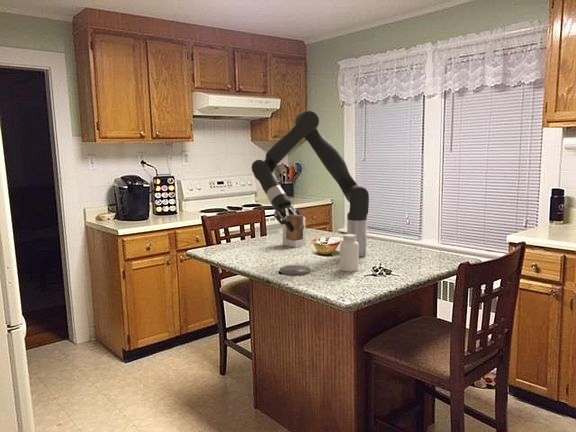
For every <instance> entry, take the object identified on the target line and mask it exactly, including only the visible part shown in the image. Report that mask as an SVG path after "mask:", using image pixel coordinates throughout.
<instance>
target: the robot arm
mask: <svg viewBox="0 0 576 432" xmlns="http://www.w3.org/2000/svg"><path fill="white" fill-rule="evenodd" d="M294 124H295V126H293V128H292V129H290V131H289V132H287V134H285V135H283V137H282V138H280V139H279V140H278V141H277V142H276V143H274V145H273V146H272V147H271V148H270V149H269V150H267V152H266V154H265V159H264V160H262V159H256V160H254V161H253V162H252V164H251V171H252V173H253V175H254V178H255V179H256V180H257V181H259V183H260V185H261V188H262V190H263V192H264V194H265V195H266V197H267V198H268V201H269V203H270V204H271V206H272V208H273V209H274V213H273V214H272V215H273V217H274V218H275V219H276V220H277V222H278V223H279V224H280V225H281V226H283V224H284V225H286V226H287V228H288V229H289V231H290V232H293V231H294V227H293V226H292V224H291V222H290V221H289V219H288V216H289V215H293V214H294V215H296V214H297V215H303V214H302V211H301V209H300V207H297V208H294V207H293V206H292V202H291V200H290V198H289V196H288V195H287V194H286V192H285V191H284V188H282V186H281V185H280V184H279V182H278V181H277V180H276V179H277V178H275V176H274V175H273V173H274V171H275V170H276V168H277V166H278V165H279V163H280V162H281V161H282V160H284V158H285V157H286V156H287V155H288V154H290V152H291V150H292V149H294V147H295V146H297V144H298V143H300V142H301V140H303V139H305V141H307V143H308V144H309V145H310V147H311V148H312V150H313V151H314V152H315V154H316V155H317V157H318V159H319V160H320V162H321V163H322V165H323V166H324V168H325V169H326V170H327V172H328V173H329V174H330V176H331V177H332V178H333V179H334V181H335V182H336V183H337V185H338V186H339V188H340V189H341V192H342V193H343V195H344V196H345V197H344V198H345V199H346V201H347V202H348V203H349V212H348V213H347V218H346V221H347V222H346V223H347V224H346V225H347V227H346V234H354V235H356V240H355V241H357V242H358V243H359V257H366V256H367V247H368V246H367V245H368V244H367V243H368V242H367V241H368V239H367V238H368V237H367V236H368V235H367V234H368V233H367V224H368V223H367V222H368V220H367V218H368V213H369V209H370V208H369V206H370V205H369V204H370V194H369V191H368V190H367V188H365V187H364V186H361V185H359V184H358V183H357V182H356V181H355V180H354V178H353V177H352V175H351V174H350V171H349V169H348V166H347V163H346V161H345V159H344V157H343V155H342V154H341V153H340V151H339V150H338V149H337V148H336V146H334V144H332V142H330V141H329V140H327V139H326V138H325V137H324V136H323V134H321V132H320V130H319V129H318V127H319V124H320V117H319V114H318V113H317V112H315V111H313V110H305V111H303V112H301V113H299V114H298V115H297V116H296V117H295V119H294ZM303 229H304V225H303Z"/></svg>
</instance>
